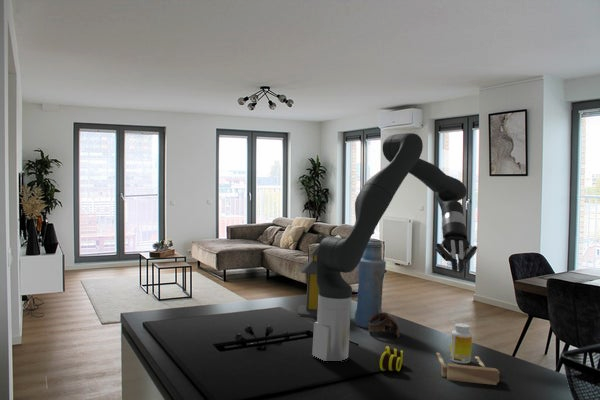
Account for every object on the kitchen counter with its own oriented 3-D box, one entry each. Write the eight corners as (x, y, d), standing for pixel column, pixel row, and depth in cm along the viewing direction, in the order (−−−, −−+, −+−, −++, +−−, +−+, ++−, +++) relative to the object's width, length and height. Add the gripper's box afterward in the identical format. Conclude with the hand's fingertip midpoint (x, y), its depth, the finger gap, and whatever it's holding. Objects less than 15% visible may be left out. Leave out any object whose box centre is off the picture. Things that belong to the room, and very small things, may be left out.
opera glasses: (399, 376, 130) (400, 356, 130) (378, 372, 132) (380, 353, 132) (403, 364, 140) (404, 346, 139) (384, 361, 141) (385, 343, 141)
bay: (432, 353, 151) (433, 341, 151) (481, 357, 149) (482, 345, 149) (443, 379, 129) (444, 365, 129) (501, 385, 127) (501, 371, 127)
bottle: (378, 330, 172) (384, 241, 172) (350, 325, 176) (356, 239, 175) (384, 324, 181) (390, 240, 181) (358, 320, 185) (363, 237, 184)
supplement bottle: (474, 363, 143) (476, 327, 143) (458, 364, 141) (460, 328, 141) (461, 357, 148) (464, 322, 148) (445, 358, 147) (448, 322, 146)
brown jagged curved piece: (402, 342, 162) (391, 320, 161) (374, 351, 165) (364, 329, 163) (401, 323, 174) (391, 302, 172) (375, 332, 176) (365, 312, 175)
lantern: (336, 318, 186) (340, 236, 185) (297, 316, 186) (302, 234, 185) (334, 309, 200) (338, 233, 199) (298, 307, 200) (302, 230, 199)
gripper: (434, 219, 166) (437, 262, 154) (477, 222, 164) (483, 265, 152) (431, 234, 171) (434, 276, 159) (473, 237, 169) (478, 280, 157)
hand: (458, 271), depth 156 cm, fingers closed
